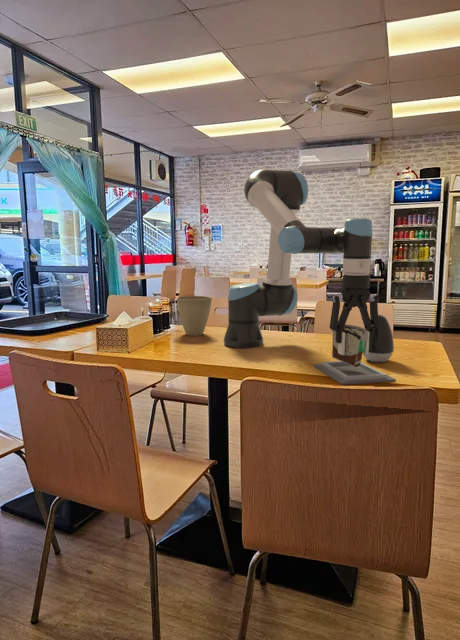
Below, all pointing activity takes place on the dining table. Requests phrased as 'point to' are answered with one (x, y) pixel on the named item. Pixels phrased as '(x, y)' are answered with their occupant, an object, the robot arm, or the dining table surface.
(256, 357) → the dining table surface
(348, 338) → the food container
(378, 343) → the pump dispenser
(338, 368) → the mat
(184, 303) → the plant pot
